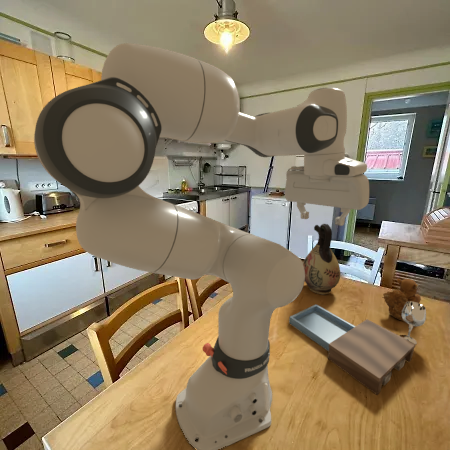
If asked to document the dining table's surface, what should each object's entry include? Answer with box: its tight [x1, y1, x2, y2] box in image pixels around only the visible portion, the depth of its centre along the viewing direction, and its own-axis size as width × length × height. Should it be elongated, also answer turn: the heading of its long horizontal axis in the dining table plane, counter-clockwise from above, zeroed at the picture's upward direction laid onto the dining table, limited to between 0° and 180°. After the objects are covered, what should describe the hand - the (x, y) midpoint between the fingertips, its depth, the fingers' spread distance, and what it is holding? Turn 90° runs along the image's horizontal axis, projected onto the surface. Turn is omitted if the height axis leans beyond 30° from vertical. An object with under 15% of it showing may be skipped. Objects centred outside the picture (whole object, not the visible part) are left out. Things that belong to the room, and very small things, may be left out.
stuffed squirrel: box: [382, 278, 422, 321], centre depth 86 cm, size 10×14×13 cm
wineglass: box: [399, 301, 427, 345], centre depth 73 cm, size 6×6×12 cm
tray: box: [288, 304, 357, 352], centre depth 78 cm, size 14×18×2 cm
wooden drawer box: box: [327, 318, 417, 396], centre depth 66 cm, size 20×13×5 cm, turn 123°
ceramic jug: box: [302, 223, 341, 296], centre depth 100 cm, size 17×15×30 cm
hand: (321, 221), depth 61 cm, fingers open, 8 cm apart
